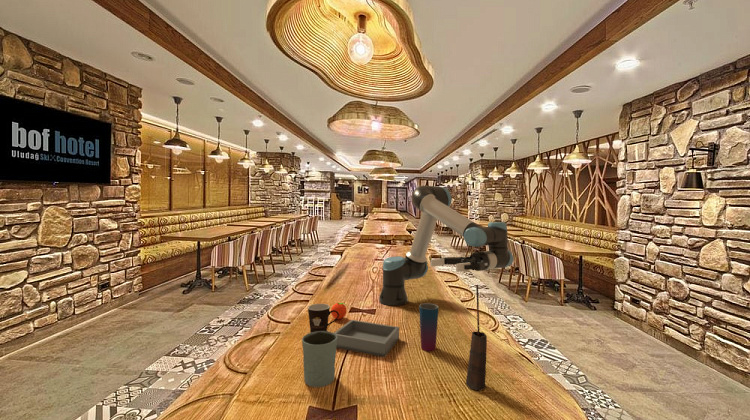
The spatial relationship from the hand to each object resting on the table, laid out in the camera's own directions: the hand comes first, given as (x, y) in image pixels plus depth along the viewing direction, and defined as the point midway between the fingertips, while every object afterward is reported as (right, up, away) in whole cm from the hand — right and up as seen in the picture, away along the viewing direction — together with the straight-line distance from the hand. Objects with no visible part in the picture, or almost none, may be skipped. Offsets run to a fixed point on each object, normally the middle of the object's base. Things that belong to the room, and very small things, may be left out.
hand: (443, 265), depth 116 cm
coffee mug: (-47, -28, +8) cm, 55 cm away
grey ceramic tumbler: (-42, -28, -26) cm, 57 cm away
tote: (-29, -28, -1) cm, 40 cm away
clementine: (-41, -28, +24) cm, 55 cm away
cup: (-6, -29, -5) cm, 30 cm away
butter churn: (+3, -29, -30) cm, 41 cm away
